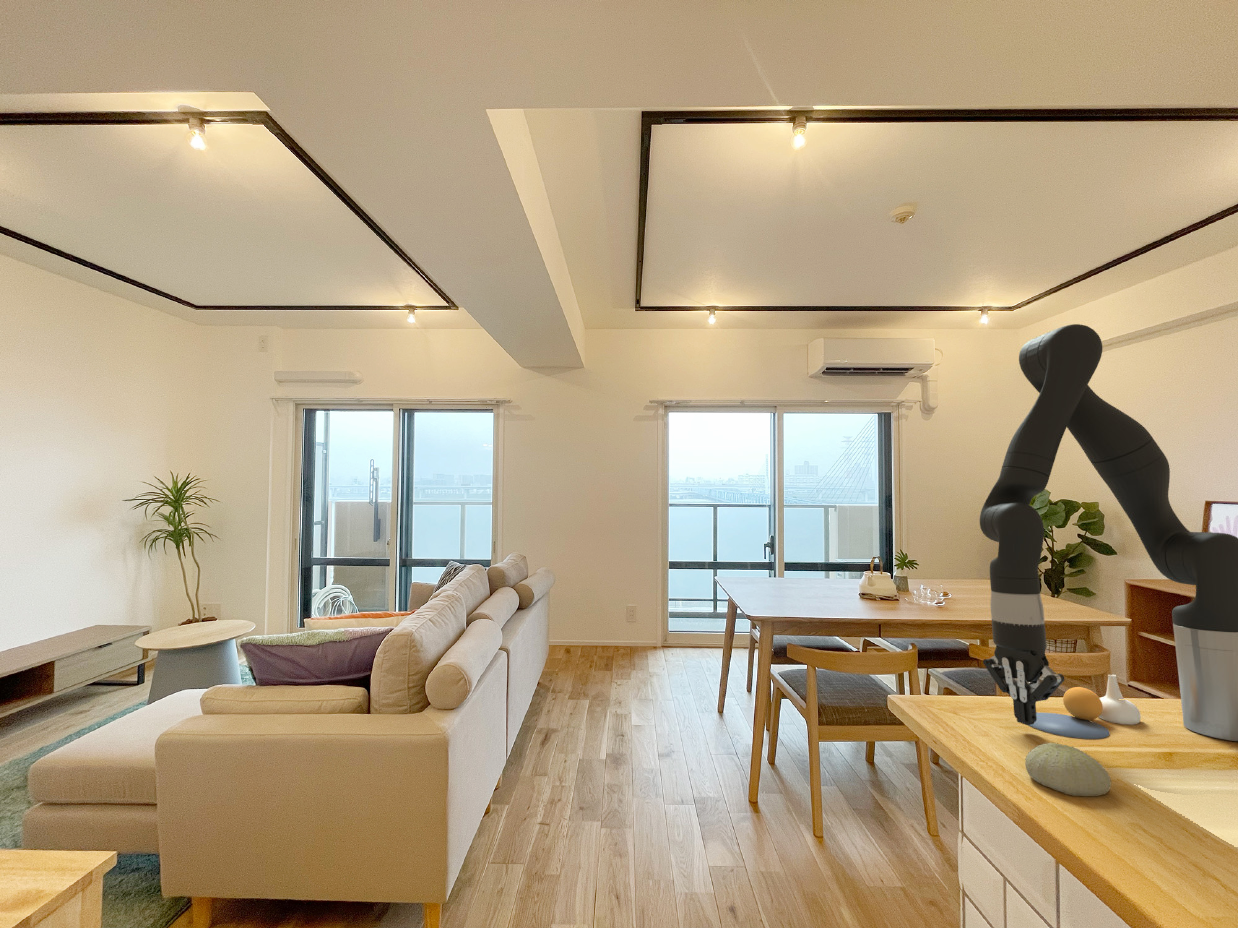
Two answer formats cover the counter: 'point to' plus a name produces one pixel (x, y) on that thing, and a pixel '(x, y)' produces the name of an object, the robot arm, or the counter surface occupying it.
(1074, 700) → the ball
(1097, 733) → the disc
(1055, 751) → the sea urchin shell
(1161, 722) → the counter surface
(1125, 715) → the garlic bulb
